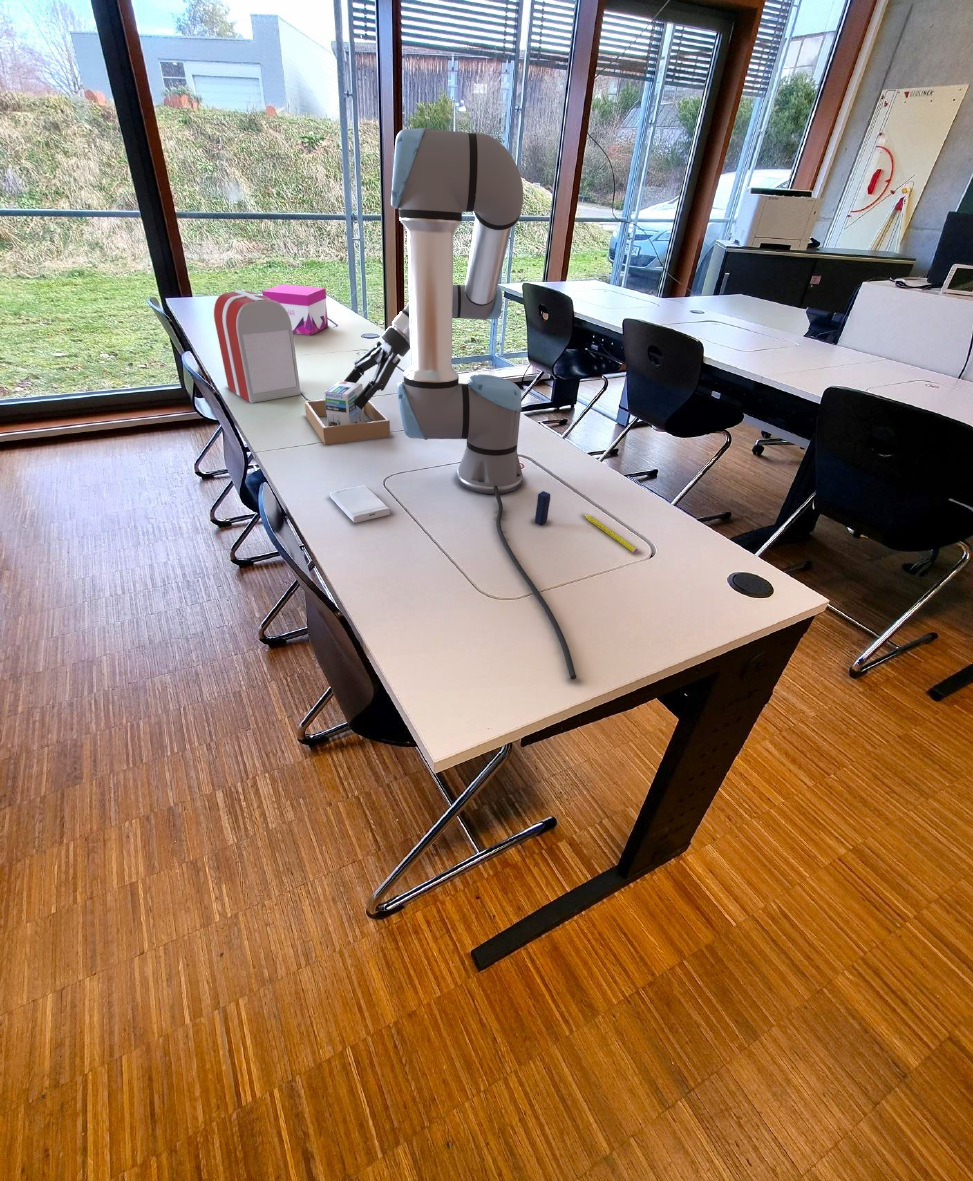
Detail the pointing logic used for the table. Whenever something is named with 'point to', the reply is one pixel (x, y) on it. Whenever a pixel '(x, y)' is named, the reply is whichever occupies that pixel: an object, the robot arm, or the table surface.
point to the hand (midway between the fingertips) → (349, 397)
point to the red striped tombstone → (256, 346)
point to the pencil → (611, 534)
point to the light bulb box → (343, 404)
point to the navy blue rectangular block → (542, 508)
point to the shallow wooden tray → (347, 431)
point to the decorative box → (302, 306)
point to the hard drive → (359, 503)
